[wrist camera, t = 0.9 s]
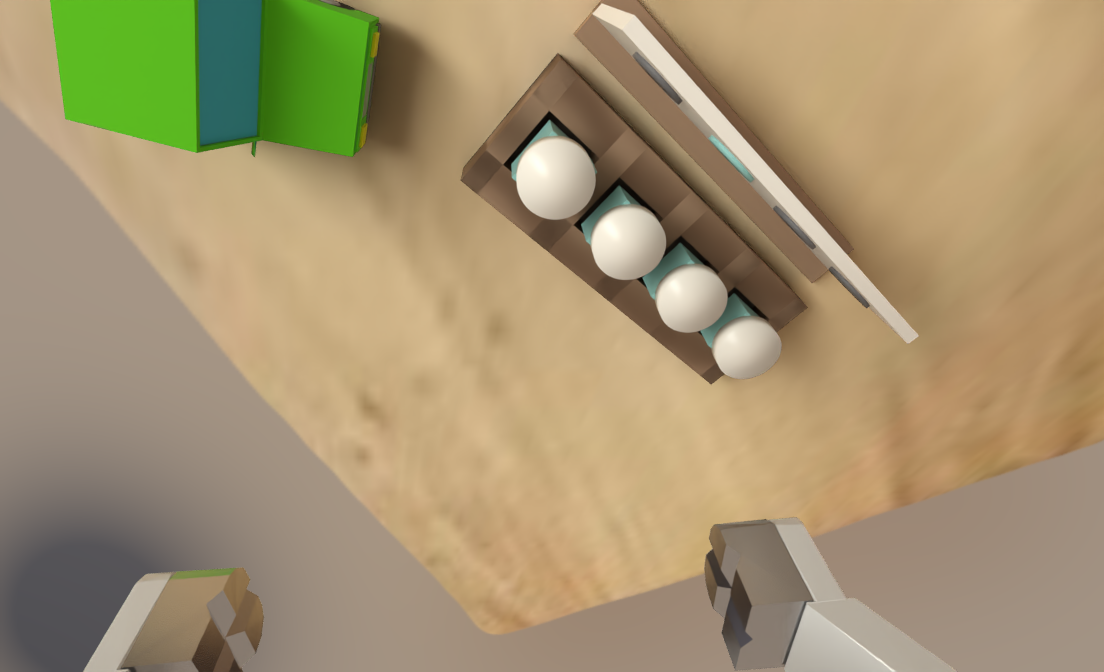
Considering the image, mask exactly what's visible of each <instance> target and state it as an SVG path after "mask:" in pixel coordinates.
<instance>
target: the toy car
mask: <svg viewBox="0 0 1104 672" xmlns="http://www.w3.org/2000/svg"><path fill="white" fill-rule="evenodd" d="M50 2H51V10H52V18H53V26H54V34H55V42H56V49H57V57H58V65H59V73H60V81H61V89H62V96H63V104H64V112H65V119H67V120H71V121H75V122H79V123H83V124H87V125H90V126H94V127H98V128H102V129H106V130H110V131H114V132H118V133H122V134H126V135H130V136H133V137H137V138H141V139H145V140H149V141H153V142H157V143H161V144H165V145H169V146H172V147H176V148H180V149H184V150H188V151H192V152H196V153H198V152H203V151H208V150H214V149H219V148H224V147H229V146H235V145H240V144H245V143H250V142H252V153H251V154H252V155H253V156H254V157H255V151H256V141H261V140H264V141H270V142H275V143H280V144H286V145H291V146H297V147H302V148H307V149H313V150H318V151H324V152H329V153H334V154H340V155H345V156H351V157H353V156H354V154H355V153H356V152H358V151H359V150H360V149H361V148H362V147H363V145H364V144H365V142H366V137H367V129H368V122H369V114H370V107H371V99H372V91H373V84H374V76H375V69H376V61H377V54H378V46H379V38H380V31H381V24H380V23H379V18H378V17H375V16H373V15H370V14H367V13H364V12H362V11H359V10H355V9H354V8H352V7H350V6H348V5H345V4H343V3H340V2H337V1H334V0H50Z"/></svg>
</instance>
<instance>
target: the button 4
mask: <svg viewBox="0 0 1104 672" xmlns="http://www.w3.org/2000/svg"><path fill="white" fill-rule="evenodd" d="M700 331H701V333H702V335H703V337H704V339H705V341H706V343H707V345H708V346H709V347H710V348H712V354H713V356H714V358H715V360H716V362H717V364H718V366H719V368H720V369H721V371H722V372H723V373H724V374H726V375H727V376H729V377H732V378H736V379H749V378H753V377H756V376H759V375H761V374H763V373H764V372H766V371H767V370H769V369H770V368H771V367H772V366H773V365H774V364H775V363H776V361H777V360H778V358H779V356H780V353H781V348H782V344H781V340H780V337H779V336H778V334H777V333H776V331H775V330H774V329H773V327H772V326H771V325H770V324H769V322H767V321H766V320H765V319H763V318H761V317H759V316H758V315H757V314H756V313H755V312H754V311H753V310H752V309H751V308H750V307H748V306H747V305H746V304H745V303H744V302H743V301H742V300H741V299H740V298H739V297H738V296H737V295H736V294H735V293H734V294H732V295H731V296H730V297H729V298H728V299H727V305H726V308H725V310H724V312H723V314H722V315H721V317H720V318H719V319H718V320H717V321H716V322H715V323H713V324H712V325H711V326H709V327H707V328H705V329H703V330H700Z"/></svg>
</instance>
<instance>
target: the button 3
mask: <svg viewBox="0 0 1104 672" xmlns="http://www.w3.org/2000/svg"><path fill="white" fill-rule="evenodd" d="M643 280H644V282H645V284H646V287H647V289H648V291H649V294H650V296H651V297H652V298H653V299H654V300H655V304H656V307H657V309H658V311H659V314H660V316H661V318H662V320H663V321H664V323H665V324H666V325H667V326H668V327H670V328H671V329H673V330H676V331H679V332H685V333H691V332H697V331H700V330H703V329H705V328H707V327H709V326H711V325H712V324H713V323H715V322H716V321H717V320H718V319H719V318H720V317H721V315H722V314H723V312H724V310H725V308H726V305H727V299H728V296H727V290H726V288H725V286H724V284H723V282H722V281H721V280H720V278H719V277H718V275H717V274H716V273H715V272H714V271H713V270H712V269H711V268H709V267H708V266H705V265H704V264H703V263H702V262H701V261H700V260H698V259H697V258H696V257H695V256H694V255H693V254H692V253H691V252H690V251H689V250H688V249H687V248H686V247H685V246H684V245H682V244H681V243H679V244H678V245H677V246H676V247H675V248H674V249H673V250H672V251H670V252H669V253H668V254H667V255H666V256H665V257H664V258H663V259H662V260H661V261H660V262H659V264H658V265H657V266H656V267H655V268H654V269H653V270H652V271H651V272H649V273H648V274H646V275H645V276H644V277H643Z"/></svg>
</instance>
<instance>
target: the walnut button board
mask: <svg viewBox="0 0 1104 672" xmlns="http://www.w3.org/2000/svg"><path fill="white" fill-rule="evenodd" d="M549 120H551V121H552V122H553V123H554V124H555V125H556V126H557V127H558V128H559V129H560V130H561V131H562V132H563V133H564V134H565V135H566V136H568V137H569V138H570V139H572V140H574V141H576V142H577V143H579V144H580V145H581V146H582V147H583V148H584V149H585V151H586V152H587V154H588V156H589V157H590V158H591V159H592V161H593V164H594V166H595V168H596V170H597V173H596V174H595V177H596V182H595V189H594V192H593V195H592V197H591V199H590V201H589V202H588V204H587V205H586V206H585V207H584V208H583V209H582V210H581V211H579V212H578V213H577V214H575V215H573V216H571V217H568V218H565V219H559V220H552V219H546V218H542V217H540V216H538V215H536V214H534V213H533V212H531V211H530V210H529V209H528V208H527V207H526V206H525V205H524V203H523V202H522V200H521V198H520V196H519V193H518V190H517V182H516V181H515V180H514V179H513V178H512V165H511V164H512V163H513V162H514V161H515V159H516V158H517V157H518V156H519V155H520V154H521V152H522V151H523V150H524V149H525V148H526V147H527V145H528V144H529V143H530V142H531V141H532V140H533V138H534V137H535V136H536V135H537V134H538V133H539V132H540V130H541V129H542V128H543V127H544V126H545V125H546V123H547V122H548V121H549ZM461 181H462V182H463V183H464V184H466V185H467V186H468V187H469V188H470V189H472V190H473V191H474V192H475V193H477V194H478V195H479V196H480V197H482V198H483V199H484V200H485V201H486V202H488V203H489V204H490V205H491V206H493V207H494V208H495V209H496V210H498V211H499V212H500V213H501V214H502V215H504V216H505V217H506V218H507V219H509V220H510V221H511V222H512V223H513V224H515V225H516V226H517V227H518V228H520V229H521V230H522V231H523V232H525V233H526V234H527V235H528V236H529V237H531V238H532V239H533V240H534V241H536V242H537V243H538V244H539V245H541V246H542V247H543V248H544V249H545V250H547V251H548V252H549V253H550V254H552V255H553V256H554V257H555V258H556V259H558V260H559V261H560V262H561V263H563V264H564V265H565V266H566V267H568V268H569V269H570V270H571V271H572V272H574V273H575V274H576V275H577V276H579V277H580V278H581V279H582V280H584V281H585V282H586V283H587V284H588V285H590V286H591V287H592V288H593V289H595V290H596V291H597V292H598V293H599V294H601V295H602V296H603V297H604V298H606V299H607V300H608V301H609V302H611V303H612V304H613V305H614V306H615V307H617V308H618V309H619V310H620V311H622V312H623V313H624V314H625V315H627V316H628V317H629V318H630V319H631V320H633V321H634V322H635V323H636V324H638V325H639V326H640V327H641V328H642V329H644V330H645V331H646V332H647V333H649V334H650V335H651V336H652V337H654V338H655V339H656V340H657V341H658V342H660V343H661V344H662V345H663V346H665V347H666V348H667V349H668V350H669V351H671V352H672V353H673V354H674V355H676V356H677V357H678V358H679V359H681V360H682V361H683V362H684V363H685V364H687V365H688V366H689V367H690V368H692V369H693V370H694V371H695V372H697V373H698V374H699V375H700V376H701V377H703V378H704V379H705V380H706V381H708V382H709V383H710V384H712V383H714V382H715V381H716V380H717V379H719V378H720V377H721V376H722V375H724V373H723V372H722V371H721V369H720V368H719V366H718V364H717V362H716V360H715V358H714V356H713V354H712V348H710V347H709V346H708V345H707V343H706V341H705V339H704V337H703V335H702V333H701V331H697V332H691V333H685V332H679V331H676V330H673V329H671V328H670V327H668V326H667V325H666V324H665V323H664V321H663V320H662V318H661V316H660V314H659V311H658V309H657V307H656V304H655V300H654V299H653V298H652V297H651V296H650V294H649V291H648V289H647V287H646V284H645V282H644V280H643V277H644V276H645V275H644V276H642V277H639V278H636V279H631V280H620V279H615V278H613V277H610V276H608V275H607V274H605V273H604V272H603V271H602V270H601V269H600V268H599V267H598V265H597V263H596V261H595V259H594V256H593V252H592V249H591V245H590V244H589V243H588V242H586V239H585V236H584V233H583V229H582V226H581V224H582V223H583V222H584V221H585V220H586V219H587V218H588V217H589V216H590V215H591V214H592V213H593V212H594V211H595V210H596V209H597V208H598V207H599V206H600V204H601V203H602V202H603V201H604V200H605V199H606V198H607V197H608V196H609V195H610V194H611V193H612V192H613V191H614V190H615V189H616V188H617V187H618V186H619V185H620V186H621V187H622V188H623V189H624V190H625V191H626V192H627V193H628V194H629V195H630V196H631V197H632V198H634V199H635V200H636V201H637V202H638V203H639V204H640V205H641V206H642V207H645V208H646V209H648V210H650V211H651V212H652V213H653V214H654V215H655V216H656V218H657V219H658V221H659V223H660V224H661V226H662V228H663V230H664V233H665V236H666V249H665V252H664V255H663V257H662V259H663V258H664V257H665V256H666V255H667V254H668V253H669V252H670V251H672V250H673V249H674V248H675V247H676V246H677V245H678V244H679V243H681V244H682V245H684V246H685V247H686V248H687V249H688V250H689V251H690V252H691V253H692V254H693V255H694V256H695V257H696V258H697V259H698V260H700V261H701V262H702V263H703V264H704V265H705V266H708V267H709V268H711V269H712V270H713V271H714V272H715V273H716V274H717V275H718V277H719V278H720V280H721V281H722V282H723V284H724V286H725V288H726V290H727V296H728V298H729V297H730V296H731V295H732V294H734V293H735V294H736V295H737V296H738V297H739V298H740V299H741V300H742V301H743V302H744V303H745V304H746V305H747V306H748V307H750V308H751V309H752V310H753V311H754V312H755V313H756V314H757V315H758V316H759V317H761V318H763V319H765V320H766V321H767V322H769V324H770V325H771V326H772V327H773V329H774V330H775V331H776V332H778V331H779V330H780V329H781V328H783V327H784V326H785V325H786V324H788V323H789V322H790V321H791V320H793V319H794V318H795V317H796V316H798V315H799V314H800V313H801V312H803V311H804V310H805V309H806V308H808V307H807V306H806V305H805V304H804V303H803V302H802V301H801V299H800V298H799V297H798V296H797V295H796V294H795V293H794V292H793V290H792V289H791V288H790V287H789V286H788V285H787V284H786V283H785V282H784V281H783V280H782V279H781V278H780V277H779V276H778V275H777V274H776V273H775V272H774V271H773V270H772V269H771V268H770V267H769V266H768V265H767V264H766V263H765V262H764V261H763V260H762V259H761V258H760V257H759V256H758V255H757V254H756V253H755V252H754V251H753V250H752V249H751V248H750V247H749V246H748V245H747V244H746V243H745V242H744V241H743V240H742V239H741V238H740V237H739V236H738V235H737V234H736V233H735V232H734V231H733V230H732V229H731V228H730V227H729V226H728V225H727V224H726V223H725V222H724V221H723V220H722V219H721V218H720V217H719V216H718V215H717V214H716V213H715V212H714V211H713V210H712V209H711V208H710V206H709V205H708V204H707V203H706V202H705V201H704V200H703V199H702V198H701V197H700V196H699V195H698V194H697V193H696V192H695V191H694V190H693V189H692V188H691V187H690V186H689V185H688V184H687V183H686V182H685V181H684V180H683V179H682V178H681V177H680V176H679V175H678V174H677V173H676V172H675V171H674V170H673V169H672V168H671V167H670V166H669V165H668V164H667V163H666V162H665V161H664V160H663V159H662V158H661V157H660V156H659V155H658V154H657V153H656V152H655V151H654V150H653V149H652V148H651V147H650V146H649V145H648V144H647V143H646V142H645V141H644V140H643V139H642V138H641V137H640V136H639V135H638V134H637V133H636V132H635V131H634V130H633V129H632V128H631V127H630V126H629V125H628V124H627V123H626V122H625V121H624V120H623V119H622V118H621V117H620V116H619V115H618V114H617V113H616V112H615V111H614V110H613V109H612V108H611V107H610V105H609V104H608V103H607V102H606V101H605V100H604V99H603V98H602V97H601V96H600V95H599V94H598V93H597V92H596V91H595V90H594V89H593V88H592V87H591V86H590V85H589V84H588V83H587V82H586V81H585V80H584V79H583V78H582V77H581V76H580V75H579V74H578V73H577V72H576V71H575V70H574V69H573V68H572V67H571V66H570V65H569V64H568V63H567V62H566V61H565V60H564V59H563V58H562V57H561V56H560V55H559V54H558V53H557V55H556V56H555V57H554V58H553V60H552V61H551V62H550V63H549V64H548V66H547V67H546V68H545V69H544V70H543V72H542V73H541V74H540V75H539V77H538V78H537V79H536V80H535V81H534V83H533V84H532V85H531V86H530V87H529V89H528V90H527V91H526V92H525V94H524V95H523V96H522V97H521V98H520V100H519V101H518V102H517V103H516V105H515V106H514V107H513V108H512V109H511V111H510V112H509V113H508V114H507V115H506V117H505V118H504V119H503V120H502V122H501V123H500V124H499V125H498V126H497V128H496V129H495V130H494V131H493V132H492V134H491V135H490V136H489V137H488V139H487V140H486V141H485V142H484V143H483V145H482V146H481V147H480V148H479V150H478V151H477V152H476V153H475V154H474V156H473V157H472V158H471V159H470V160H469V162H468V163H467V164H466V165H465V167H464V168H463V172H462V177H461ZM662 259H661V260H662Z"/></svg>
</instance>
